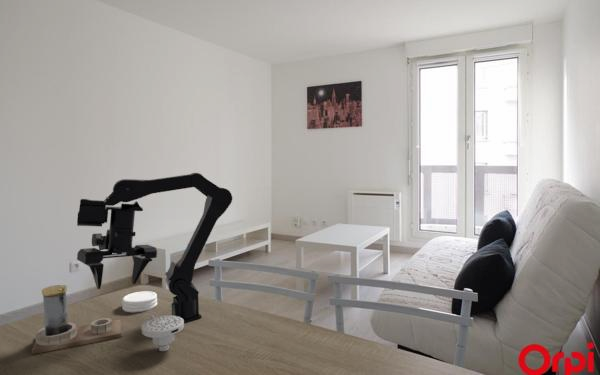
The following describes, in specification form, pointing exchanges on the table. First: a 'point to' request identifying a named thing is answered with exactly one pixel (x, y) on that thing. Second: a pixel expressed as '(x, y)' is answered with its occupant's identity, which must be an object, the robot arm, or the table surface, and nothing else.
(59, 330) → the grey lidded canister
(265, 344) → the table surface
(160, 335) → the showerhead
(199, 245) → the robot arm
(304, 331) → the table surface
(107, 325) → the fitting board
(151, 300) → the white plate stack
